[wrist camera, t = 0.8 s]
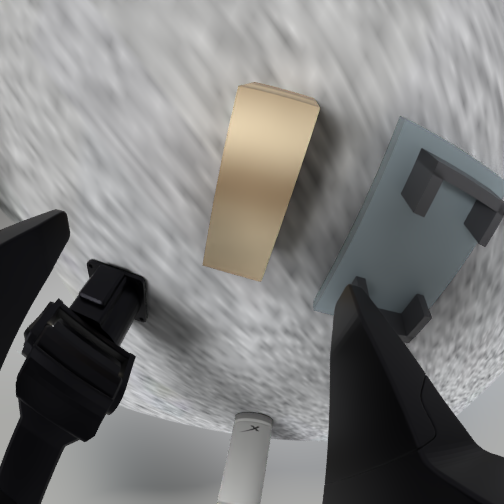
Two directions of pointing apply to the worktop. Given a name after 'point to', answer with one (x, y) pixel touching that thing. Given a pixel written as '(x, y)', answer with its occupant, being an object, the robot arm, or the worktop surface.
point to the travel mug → (246, 460)
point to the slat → (257, 176)
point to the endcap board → (415, 228)
